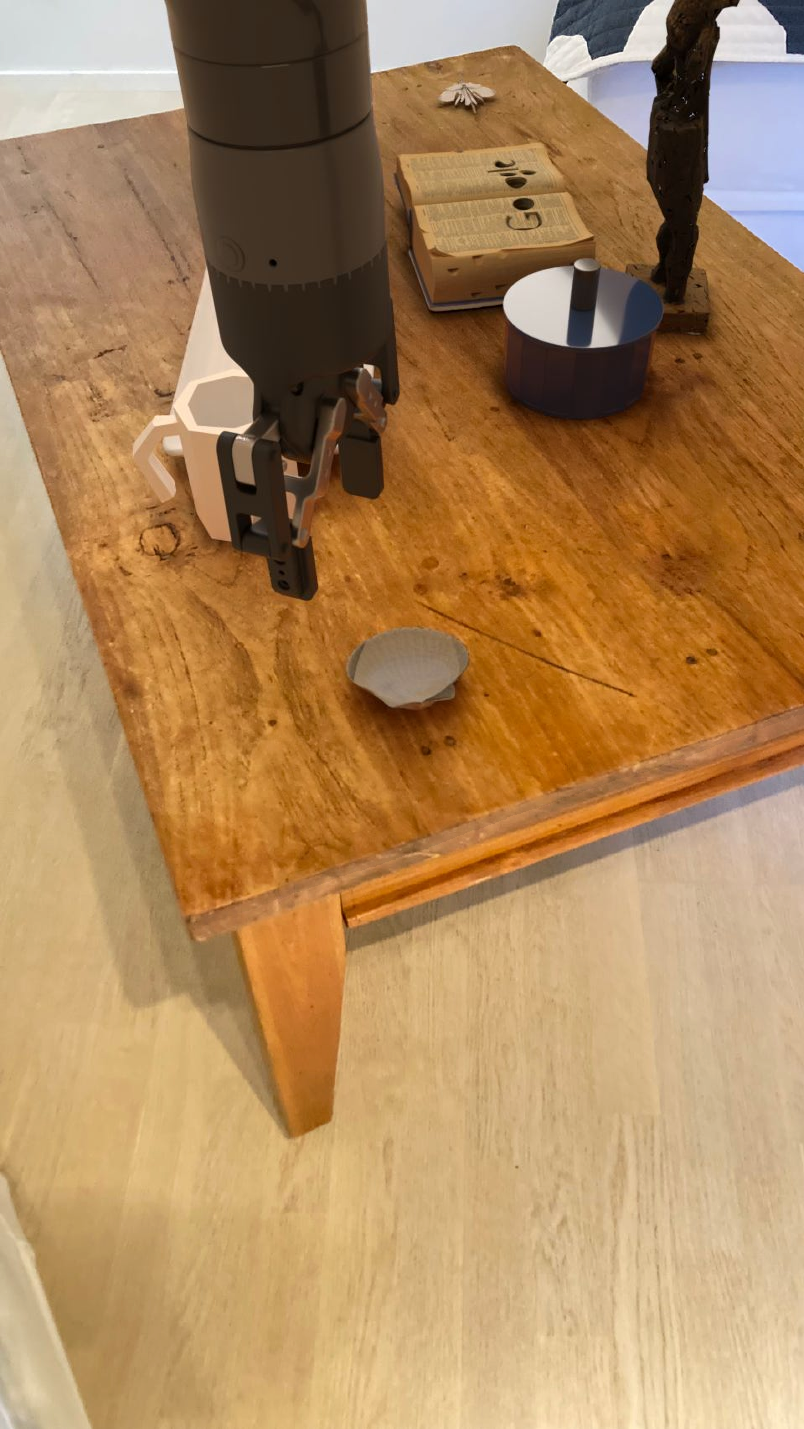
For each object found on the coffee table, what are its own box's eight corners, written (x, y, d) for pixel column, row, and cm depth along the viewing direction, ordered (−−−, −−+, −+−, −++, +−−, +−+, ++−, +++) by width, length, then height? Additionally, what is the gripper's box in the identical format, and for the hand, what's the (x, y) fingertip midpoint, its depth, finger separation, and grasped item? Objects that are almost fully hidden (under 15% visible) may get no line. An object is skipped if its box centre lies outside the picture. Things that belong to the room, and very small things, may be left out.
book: (595, 296, 103) (603, 236, 98) (428, 314, 102) (427, 253, 97) (536, 186, 119) (540, 129, 114) (391, 200, 118) (389, 143, 113)
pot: (659, 354, 96) (671, 286, 91) (627, 431, 89) (639, 362, 84) (527, 331, 99) (531, 264, 94) (485, 404, 92) (487, 335, 87)
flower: (505, 119, 134) (507, 97, 131) (444, 126, 133) (445, 105, 130) (490, 86, 137) (492, 65, 135) (430, 93, 136) (431, 71, 134)
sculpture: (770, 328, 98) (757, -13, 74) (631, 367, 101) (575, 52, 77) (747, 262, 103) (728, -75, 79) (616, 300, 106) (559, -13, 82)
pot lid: (676, 291, 92) (685, 239, 88) (641, 372, 84) (650, 319, 80) (528, 267, 95) (531, 216, 92) (481, 343, 87) (483, 291, 84)
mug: (298, 471, 86) (285, 364, 79) (304, 540, 81) (291, 431, 73) (151, 485, 86) (123, 378, 78) (147, 555, 80) (117, 447, 73)
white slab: (165, 483, 86) (156, 448, 83) (212, 288, 106) (207, 254, 103) (372, 480, 85) (370, 444, 83) (380, 284, 106) (379, 250, 103)
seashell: (450, 655, 75) (339, 646, 73) (459, 620, 73) (346, 610, 72) (470, 731, 69) (349, 722, 67) (481, 694, 67) (357, 685, 65)
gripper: (302, 334, 38) (342, 650, 50) (441, 171, 46) (446, 476, 58) (123, 303, 40) (203, 614, 52) (288, 152, 48) (323, 450, 61)
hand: (332, 540), depth 55 cm, fingers open, 8 cm apart
